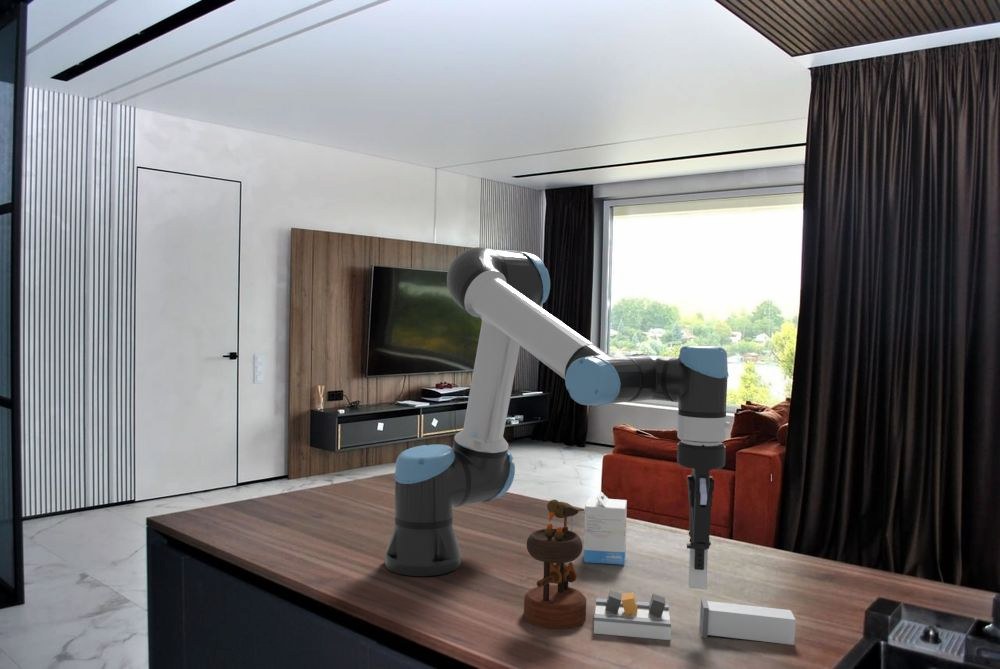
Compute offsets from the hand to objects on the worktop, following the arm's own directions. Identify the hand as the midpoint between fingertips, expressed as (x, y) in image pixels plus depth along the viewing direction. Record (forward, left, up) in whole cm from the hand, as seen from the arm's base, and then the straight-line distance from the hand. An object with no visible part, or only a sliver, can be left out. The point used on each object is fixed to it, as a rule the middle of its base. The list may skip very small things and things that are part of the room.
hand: (697, 586), depth 124 cm
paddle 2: (-10, 0, -5) cm, 12 cm away
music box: (-23, +1, -8) cm, 24 cm away
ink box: (-16, +35, -8) cm, 39 cm away
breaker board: (-10, 0, -7) cm, 13 cm away
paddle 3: (-7, 0, -5) cm, 9 cm away
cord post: (+1, 0, -5) cm, 5 cm away
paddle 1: (-14, 0, -5) cm, 15 cm away
